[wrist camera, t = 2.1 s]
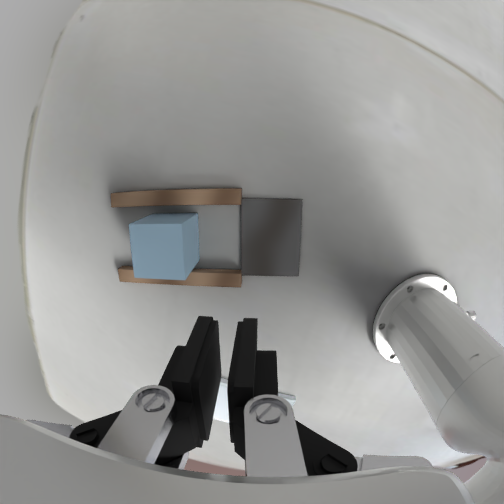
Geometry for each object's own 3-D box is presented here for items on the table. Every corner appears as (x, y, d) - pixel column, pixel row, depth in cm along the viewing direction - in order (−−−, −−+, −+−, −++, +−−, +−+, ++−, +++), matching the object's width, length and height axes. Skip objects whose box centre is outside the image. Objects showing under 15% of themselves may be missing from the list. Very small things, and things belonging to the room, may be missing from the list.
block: (198, 212, 29) (181, 223, 23) (199, 259, 30) (185, 280, 25) (153, 213, 29) (128, 224, 23) (156, 258, 30) (134, 277, 25)
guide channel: (302, 189, 28) (303, 190, 27) (297, 283, 30) (298, 288, 29) (115, 192, 28) (110, 193, 27) (124, 277, 31) (119, 281, 30)
